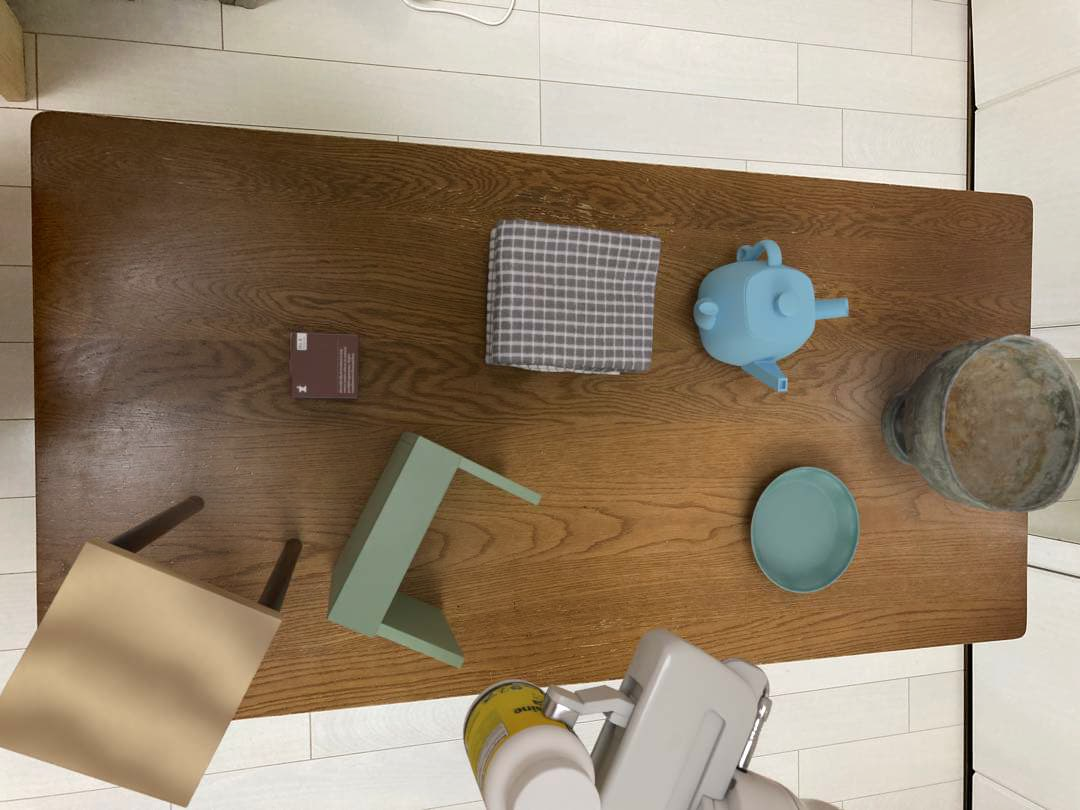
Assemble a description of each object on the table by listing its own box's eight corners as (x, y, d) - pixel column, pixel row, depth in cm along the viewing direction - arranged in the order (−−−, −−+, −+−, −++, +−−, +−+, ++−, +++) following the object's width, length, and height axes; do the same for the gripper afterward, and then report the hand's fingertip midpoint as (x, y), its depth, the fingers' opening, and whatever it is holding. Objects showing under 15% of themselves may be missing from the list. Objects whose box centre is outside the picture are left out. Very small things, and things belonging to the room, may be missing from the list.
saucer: (752, 603, 84) (765, 609, 81) (727, 482, 83) (739, 484, 80) (855, 568, 87) (871, 573, 85) (832, 452, 87) (847, 453, 84)
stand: (191, 795, 43) (186, 808, 42) (-12, 728, 41) (-26, 739, 39) (284, 613, 45) (282, 620, 44) (94, 536, 42) (85, 541, 41)
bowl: (982, 357, 93) (1099, 347, 78) (968, 505, 92) (1084, 522, 77) (855, 334, 88) (955, 318, 73) (839, 490, 87) (937, 505, 72)
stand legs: (248, 651, 69) (190, 791, 43) (130, 605, 66) (-7, 726, 41) (305, 541, 71) (280, 615, 45) (191, 492, 68) (96, 541, 42)
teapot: (729, 407, 83) (787, 406, 72) (652, 321, 81) (700, 307, 70) (808, 318, 86) (876, 304, 75) (736, 233, 84) (795, 205, 73)
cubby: (438, 618, 74) (463, 675, 58) (331, 573, 71) (326, 619, 55) (505, 479, 76) (547, 497, 60) (403, 430, 73) (419, 435, 57)
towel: (484, 229, 76) (499, 208, 68) (643, 243, 80) (674, 225, 73) (481, 371, 75) (496, 366, 68) (641, 376, 80) (672, 373, 73)
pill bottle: (571, 702, 47) (638, 785, 36) (522, 789, 46) (576, 900, 35) (493, 658, 46) (539, 731, 35) (442, 747, 45) (472, 850, 34)
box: (357, 401, 72) (358, 400, 65) (294, 400, 70) (288, 398, 63) (358, 341, 72) (359, 333, 65) (296, 339, 70) (290, 331, 63)
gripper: (814, 696, 41) (615, 605, 38) (672, 1053, 39) (445, 987, 35) (753, 660, 47) (577, 579, 44) (627, 967, 45) (430, 904, 41)
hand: (517, 763), depth 40 cm, fingers closed on pill bottle, 6 cm apart
